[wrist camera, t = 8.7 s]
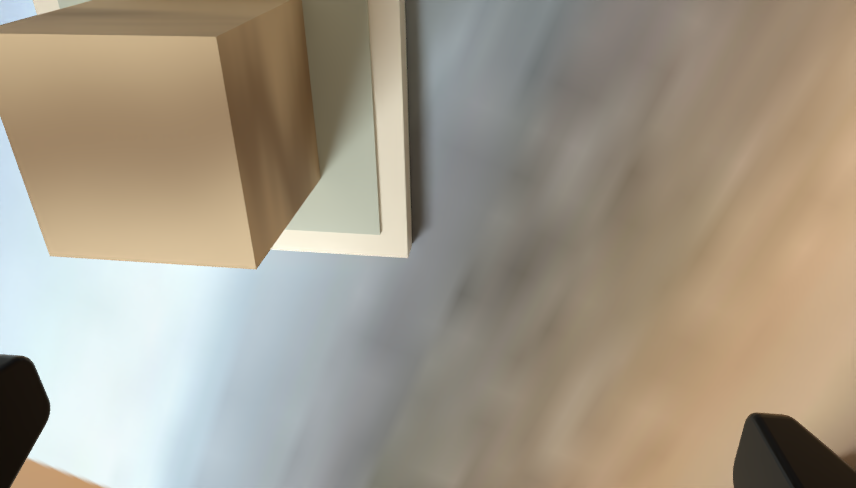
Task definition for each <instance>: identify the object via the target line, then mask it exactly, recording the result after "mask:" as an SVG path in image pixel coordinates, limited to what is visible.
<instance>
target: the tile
mask: <svg viewBox="0 0 856 488" xmlns="http://www.w3.org/2000/svg"><path fill="white" fill-rule="evenodd" d="M88 1H92V0H33V3H34V6H35V9H36V13H37V15H40V14H43V13H47V12H51V11H55V10H58V9H62V8H66V7H69V6H73V5H77V4H81V3H84V2H88ZM302 7H303V16H304V26H305V35H306V45H307V54H308V64H309V73H310V83H311V92H312V101H313V111H314V120H315V130H316V139H317V149H318V158H319V168H320V177H321V179H320V181H319V182H318V183H317V185H316V186H315V188H314V189H313V190H312V192H311V193H310V195H309V196H308V197H307V199H306V200H305V202H304V203H303V204H302V206H301V207H300V209H299V210H298V211H297V213H296V214H295V216H294V217H293V218H292V220H291V221H290V223H289V224H288V225H287V227H286V228H285V230H284V231H283V232H282V234H281V235H280V237H279V238H278V239H277V241H276V242H275V244H274V245H273V247H272V248H271V250H287V251H303V252H319V253H335V254H351V255H367V256H384V257H400V258H408V256H409V253H410V250H411V247H412V227H411V192H410V158H409V123H408V88H407V54H406V19H405V0H302Z"/></svg>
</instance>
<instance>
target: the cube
mask: <svg viewBox="0 0 856 488" xmlns="http://www.w3.org/2000/svg"><path fill="white" fill-rule="evenodd" d="M0 116H1V119H2V122H3V125H4V128H5V130H6V133H7V136H8V139H9V142H10V144H11V147H12V150H13V153H14V156H15V159H16V161H17V164H18V167H19V170H20V173H21V175H22V178H23V181H24V184H25V187H26V190H27V192H28V195H29V198H30V201H31V204H32V206H33V209H34V212H35V215H36V218H37V221H38V223H39V226H40V229H41V232H42V235H43V237H44V240H45V243H46V246H47V249H48V252H49V254H50V256H57V257H72V258H88V259H104V260H119V261H135V262H150V263H166V264H181V265H197V266H212V267H228V268H243V269H257V268H258V266H259V265H260V263H261V262H262V261H263V259H264V258H265V256H266V255H267V254H268V252H269V251H270V249H271V248H272V247H273V245H274V244H275V242H276V241H277V239H278V238H279V237H280V235H281V234H282V232H283V231H284V230H285V228H286V227H287V225H288V224H289V223H290V221H291V220H292V218H293V217H294V216H295V214H296V213H297V211H298V210H299V209H300V207H301V206H302V204H303V203H304V202H305V200H306V199H307V197H308V196H309V195H310V193H311V192H312V190H313V189H314V188H315V186H316V185H317V183H318V182H319V181H320V179H321V177H320V168H319V158H318V149H317V139H316V130H315V120H314V111H313V101H312V92H311V83H310V73H309V64H308V54H307V45H306V35H305V26H304V16H303V7H302V0H92V1H88V2H84V3H81V4H77V5H73V6H69V7H66V8H62V9H58V10H55V11H51V12H47V13H43V14H40V15H36V16H32V17H29V18H25V19H21V20H18V21H14V22H10V23H6V24H3V25H0Z"/></svg>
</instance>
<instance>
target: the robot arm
mask: <svg viewBox="0 0 856 488" xmlns="http://www.w3.org/2000/svg"><path fill="white" fill-rule="evenodd" d="M49 415H50V402H49V399H48V396H47V394H46V392H45V389H44V387H43V384H42V382H41V380H40V377H39V375H38V372H37V370H36V368H35V365H34V364H33V362H32V361H31V360H30V359H29V358H27V357H24V356H18V355H5V354H0V488H10V487H11V485H12V483H13V481H14V480H15V478H16V476H17V474H18V473H19V471H20V469H21V467H22V465H23V464H24V462H25V460H26V458H27V457H28V455H29V453H30V451H31V450H32V448H33V446H34V444H35V442H36V441H37V439H38V437H39V435H40V434H41V432H42V430H43V428H44V426H45V425H46V423H47V421H48V418H49ZM733 484H734V488H856V471H855V470H854V469H853V468H852V467H851V466H850V465H848V464H847V463H846V462H845V461H844V460H842V459H841V458H840V457H839V456H838V455H837V454H835V453H834V452H833V451H832V450H831V449H829V448H828V447H827V446H826V445H825V444H824V443H822V442H821V441H820V440H819V439H818V438H816V437H815V436H814V435H813V434H812V433H811V432H809V431H808V430H807V429H806V428H805V427H803V426H802V425H801V424H800V423H799V422H798V421H796V420H795V419H793V418H792V417H790V416H787V415H782V414H769V413H752V414H750V415H749V416H748V418H747V419H746V421H745V424H744V428H743V432H742V435H741V439H740V443H739V447H738V450H737V454H736V458H735V462H734V467H733Z"/></svg>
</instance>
